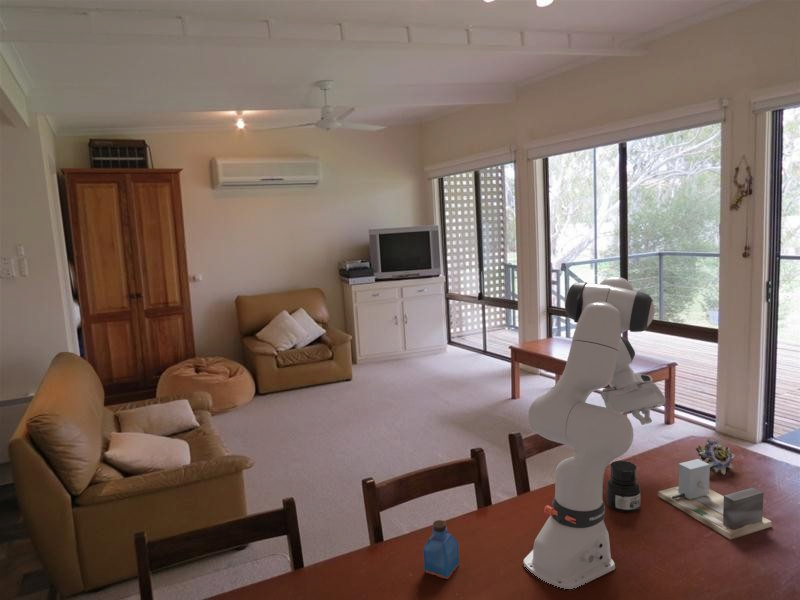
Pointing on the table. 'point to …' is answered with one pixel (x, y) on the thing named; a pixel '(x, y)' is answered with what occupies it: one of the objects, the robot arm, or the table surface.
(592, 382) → the robot arm
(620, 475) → the ink bottle
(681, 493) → the gauge slider
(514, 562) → the table surface
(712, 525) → the bench
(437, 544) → the perfume bottle
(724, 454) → the passion flower
